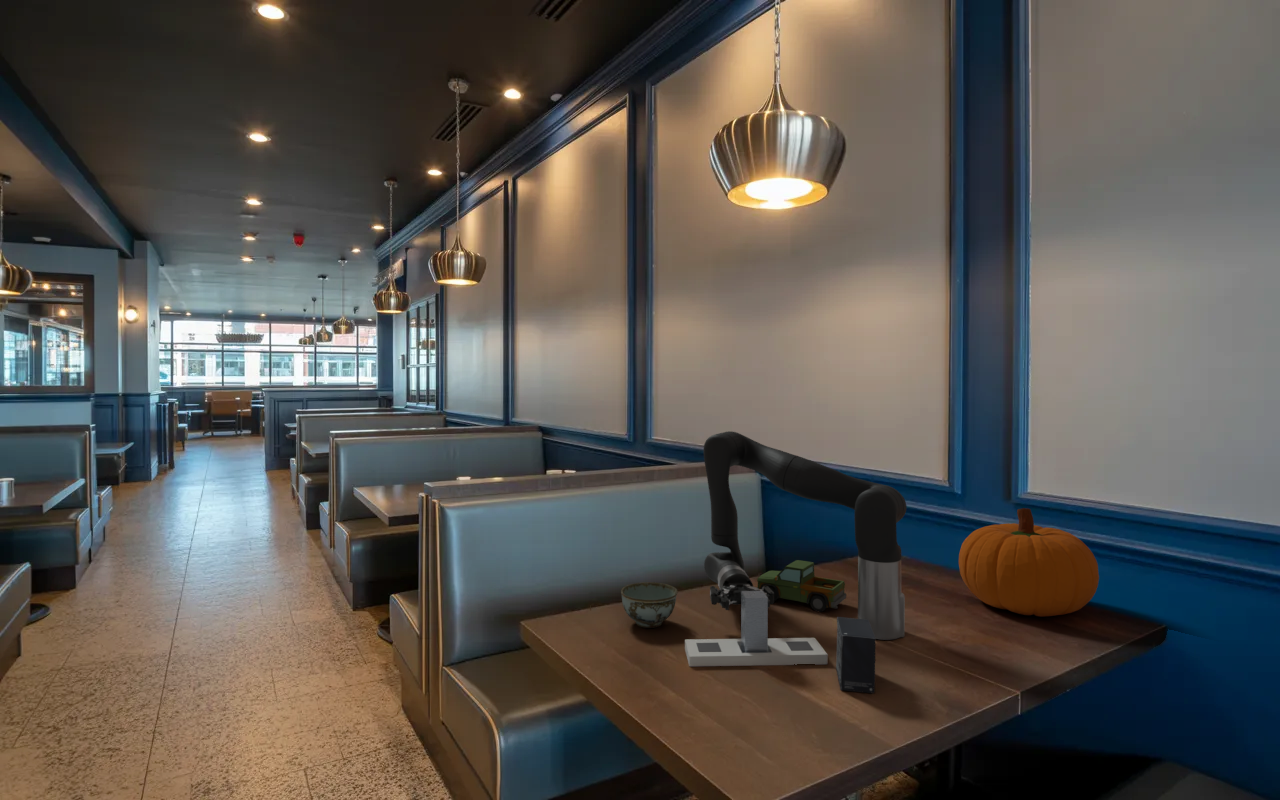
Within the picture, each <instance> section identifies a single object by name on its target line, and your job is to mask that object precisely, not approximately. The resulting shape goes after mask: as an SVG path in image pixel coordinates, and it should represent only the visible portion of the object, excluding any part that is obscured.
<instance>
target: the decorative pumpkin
mask: <svg viewBox="0 0 1280 800" xmlns="http://www.w3.org/2000/svg"><path fill="white" fill-rule="evenodd" d="M1016 514H1017V519H1018V523H1001V524H991V525H986V526H983V527H980V528H978V529H975V530H974V531H972V532H971V533H970V534H969V535H968V536H967V537H966V538H965V539H964V540H963V542H962V543H961V547H960V550H959V554H958V567H959V574H960V576H961V578H962V579H961V580H962V581H963V583H964V584H965V586H966V587H967V588H968V589H969V591H970V592H971V593H972V594H973V595H974V596H975V597H976V598H977V599H978V600H979V601H981V602H983V603H984V604H986V605H988V606H991V607H993V608H997V609H1001V610H1008V611H1010V612H1012V613H1015V614H1019V615H1024V616H1033V615H1034V616H1036V617H1041V618H1043V617H1044V618H1045V617H1053V616H1063V615H1066V614H1068V615H1069V614H1072V613H1074V612H1077V611H1079V610H1081V609H1082V608H1083V607H1085V606H1086V605H1087V604H1089V602H1090V601H1091V600H1092V599H1093V597H1094V596H1095V594H1096V592H1097V590H1098V589H1097V588H1098V587H1099V581H1100V575H1099V564H1098V561H1097V559H1096V557H1095V555H1094V553H1093V552H1092V550H1091V549H1090V548H1089V546H1087V545H1086V544H1085V543H1084V542H1083V541H1082V540H1081V539H1080V538H1078V537H1077V536H1076V535H1074V534H1072V533H1070V532H1067V531H1065V530H1062V529H1060V528H1054V527H1046V526H1045V527H1043V526H1040V525H1035V523H1034V517H1033V514H1032V509H1031V508H1028V507H1027V508H1026V507H1023V508H1018V509H1017V512H1016Z"/></svg>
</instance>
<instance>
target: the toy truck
mask: <svg viewBox="0 0 1280 800" xmlns="http://www.w3.org/2000/svg"><path fill="white" fill-rule="evenodd" d="M756 580H757V581H756V582H757V587H756V588H758V589H762V588H763V586H768V587H769V588H770V589H771V590H772V591H773V592H774V602H775V601H777V600H778V599H784V600H789V601H795V602H800V603H805V604H807V605H810V608H811V609H812V610H813V611H814V612H818V611H819V612H818V613H822V612H824V611H825V610H827V609H828V608H831V609H837V610H838V605H839V604H840V603H842V602H843V601H845V599H846V598H847V593H846V592H845V587H846V583H845V581H844V580H840V579H833V578H829V577H828V578H827V577H821V576H815V562H812V561H808V560H800V559H795V560H794V561H792V562H790V563H789V564H788V565H785V566H784V568H782V569H781V570H768V571H767V572H764V573H763V574H760V575H759V576H758V577H757V579H756Z"/></svg>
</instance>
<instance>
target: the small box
mask: <svg viewBox="0 0 1280 800" xmlns="http://www.w3.org/2000/svg"><path fill="white" fill-rule="evenodd" d="M836 627H837V628H836V633H837V635H836V658H835V659H836V661H835V669H836V676H837V681H838V686H839V691H844V692H845V691H846V692H853V693H857V692H858V693H866V694H875V690H876V689H875V687H876V645H877V644H876V642H877V641H876V640H877V639H876V638H875V636H874V633H873V631H872V628H871V626H870V623H869V620H866V619H858V618H853V617H844V616H837V617H836Z"/></svg>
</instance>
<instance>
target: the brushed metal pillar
mask: <svg viewBox="0 0 1280 800" xmlns="http://www.w3.org/2000/svg"><path fill="white" fill-rule="evenodd" d="M740 605H741V606H740V610H741V611H740V615H741V616H740V620H741V621H740V623H741V624H740V625H741V626H740V629H741V630H740V639H741V652H742V653H768V637H769V636H768V635H769V634H768V630H769V629H768V628H769V627H768V625H769V624H768V621H769V620H768V618H769V617H768V616H769V614H768V611H769V610H768V609H769V608H768V597H767V596H766V595H765V593H764V592H763V591H741V604H740Z"/></svg>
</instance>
